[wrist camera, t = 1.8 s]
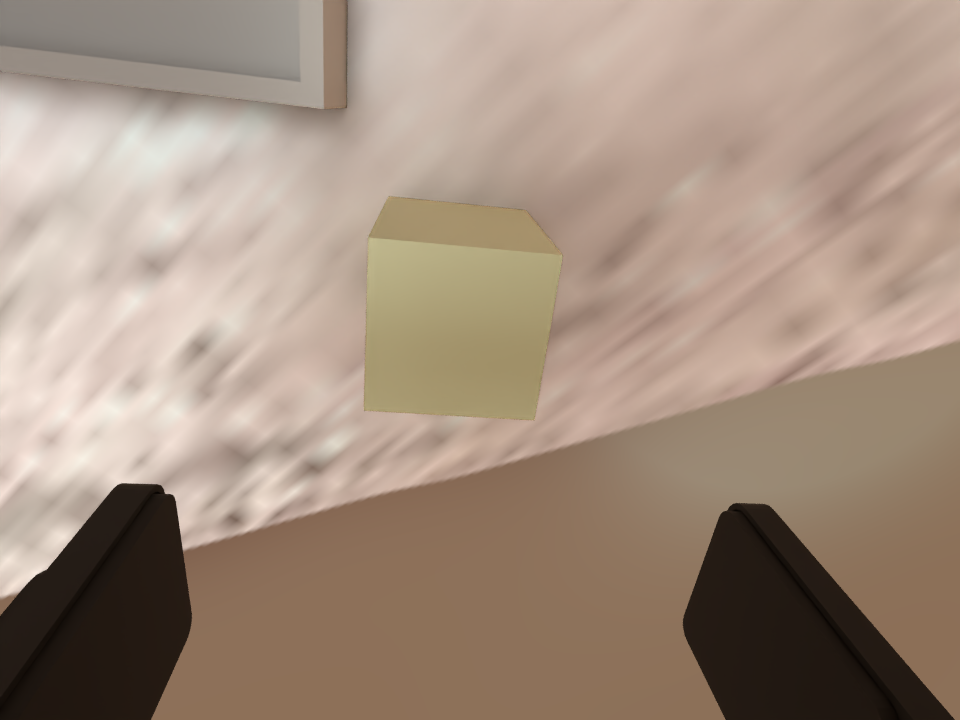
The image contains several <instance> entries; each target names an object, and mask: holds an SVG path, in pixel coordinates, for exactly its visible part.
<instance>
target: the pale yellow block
mask: <svg viewBox="0 0 960 720" xmlns="http://www.w3.org/2000/svg"><path fill="white" fill-rule="evenodd" d="M562 259H563V255H562V253H561V252H560V251H559V250H558V249H557V247H556V246H555V245H554V244H553V243H552V241H551V240H550V239H549V238H548V237H547V235H546V234H545V233H544V232H543V231H542V229H541V228H540V227H539V226H538V224H537V223H536V222H535V221H534V220H533V218H532V217H531V216H530V215H529V214H528V212H527V211H526V210H520V209H510V208H500V207H490V206H480V205H470V204H460V203H450V202H440V201H430V200H420V199H410V198H400V197H390V196H389V197H388V199H387V201H386V203H385V205H384V207H383V209H382V211H381V213H380V215H379V217H378V219H377V221H376V223H375V225H374V227H373V229H372V231H371V233H370V235H369V237H368V264H367V304H366V344H365V383H364V411H380V412H398V413H415V414H432V415H450V416H467V417H485V418H502V419H519V420H534V419H535V413H536V408H537V402H538V396H539V391H540V385H541V379H542V373H543V368H544V362H545V356H546V350H547V345H548V339H549V333H550V327H551V322H552V316H553V310H554V304H555V299H556V293H557V287H558V281H559V276H560V270H561V264H562Z"/></svg>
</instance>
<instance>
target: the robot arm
mask: <svg viewBox="0 0 960 720" xmlns="http://www.w3.org/2000/svg"><path fill="white" fill-rule="evenodd" d="M191 621H192V613H191V605H190V599H189V591H188V584H187V578H186V571H185V563H184V556H183V549H182V542H181V535H180V528H179V521H178V514H177V507H176V501H175V497H174V496H173V495H171V494H165V492H164V489H163V488H162V486H161V485H158V484H127V483H122V484H119V485H117V486H116V487H115V488H114V489H113V490H112V491H111V492H110V493H109V495H108V496H107V497H106V498H105V500H104V501H103V502H102V503H101V504H100V506H99V507H98V508H97V509H96V510H95V512H94V513H93V514H92V515H91V517H90V518H89V519H88V520H87V521H86V523H85V524H84V525H83V526H82V528H81V529H80V530H79V531H78V532H77V534H76V535H75V536H74V537H73V538H72V540H71V541H70V542H69V543H68V545H67V546H66V547H65V548H64V549H63V551H62V552H61V553H60V554H59V556H58V557H57V558H56V559H55V560H54V562H53V563H52V564H51V565H50V567H49V568H48V569H47V570H45V571H43V572H41V573H39V574H37V575H36V576H35V577H34V578H33V579H32V580H31V581H30V582H29V583H28V584H27V585H26V586H25V587H24V588H23V589H22V591H21V592H20V593H19V594H18V595H17V597H16V598H15V599H14V600H13V601H12V603H11V604H10V605H9V606H8V607H7V609H6V610H5V611H4V612H3V613H2V614H1V616H0V720H151V718H152V716H153V714H154V712H155V709H156V707H157V705H158V703H159V701H160V698H161V696H162V694H163V692H164V689H165V687H166V685H167V683H168V681H169V678H170V676H171V674H172V672H173V670H174V667H175V665H176V663H177V661H178V658H179V656H180V653H181V652H182V650H183V647H184V645H185V643H186V641H187V638H188V635H189V632H190V627H191ZM683 628H684V633H685V637H686V639H687V641H688V644H689V646H690V647H691V650H692V651H693V654H694V656H695V658H696V660H697V662H698V664H699V666H700V668H701V670H702V672H703V674H704V676H705V678H706V680H707V682H708V685H709V686H710V689H711V691H712V693H713V695H714V697H715V699H716V701H717V703H718V705H719V707H720V709H721V711H722V713H723V715H724V717H725V719H726V720H954V718H953V717H952V716H951V715H950V714H949V713H948V711H947V710H946V709H945V708H944V707H943V706H942V704H941V703H940V702H939V701H938V700H937V699H936V697H935V696H934V695H933V694H932V693H931V692H930V691H929V689H928V688H927V687H926V686H925V685H924V684H923V682H922V681H921V680H920V679H919V678H918V677H917V675H916V674H915V673H914V672H913V671H912V670H911V669H910V667H909V666H908V665H907V664H906V663H905V662H904V660H903V659H902V658H901V657H900V656H899V655H898V653H897V652H896V651H895V650H894V649H893V648H892V646H891V645H890V644H889V643H888V642H887V641H886V640H885V638H884V637H883V636H882V635H881V634H880V633H879V631H878V630H877V629H876V628H875V627H874V626H873V624H872V623H871V622H870V621H869V620H868V619H867V618H866V616H865V615H864V614H863V613H862V612H861V611H860V610H859V608H858V607H857V606H856V605H855V604H854V603H853V601H852V600H851V599H850V598H849V597H848V596H847V594H846V593H845V592H844V591H843V590H842V589H841V587H839V585H838V584H837V583H836V582H835V581H834V579H833V578H832V577H831V576H830V575H829V574H828V572H827V571H826V570H825V569H824V568H823V567H822V565H821V564H820V563H819V562H818V561H817V560H816V558H815V557H814V556H813V555H812V554H811V553H810V552H809V550H808V549H807V548H806V547H805V546H804V545H803V543H802V542H801V541H800V540H799V539H798V538H797V536H796V535H795V534H794V533H793V532H792V531H791V530H790V528H789V527H788V526H787V525H786V524H785V522H784V521H783V520H782V519H781V518H780V517H779V516H778V514H777V513H776V512H775V511H774V510H773V509H772V508H771V507H770V506H768V505H765V504H747V503H746V504H745V503H735V504H732V505H731V506H730V507H729V509H728V510H727V511H724V512H723V513H721V515H720V517H719V519H718V522H717V525H716V528H715V530H714V533H713V536H712V539H711V542H710V544H709V547H708V550H707V553H706V556H705V558H704V561H703V564H702V567H701V570H700V573H699V575H698V578H697V581H696V584H695V586H694V589H693V592H692V595H691V597H690V600H689V603H688V606H687V609H686V612H685V614H684V618H683Z"/></svg>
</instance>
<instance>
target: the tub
mask: <svg viewBox="0 0 960 720" xmlns="http://www.w3.org/2000/svg"><path fill="white" fill-rule="evenodd" d="M0 71H1V72H9V73H18V74H26V75H35V76H43V77H52V78H61V79H69V80H78V81H86V82H95V83H104V84H112V85H121V86H129V87H138V88H147V89H155V90H164V91H172V92H181V93H190V94H198V95H207V96H215V97H224V98H233V99H241V100H250V101H258V102H267V103H275V104H284V105H293V106H301V107H310V108H318V109H333V108H347V0H0Z"/></svg>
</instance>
